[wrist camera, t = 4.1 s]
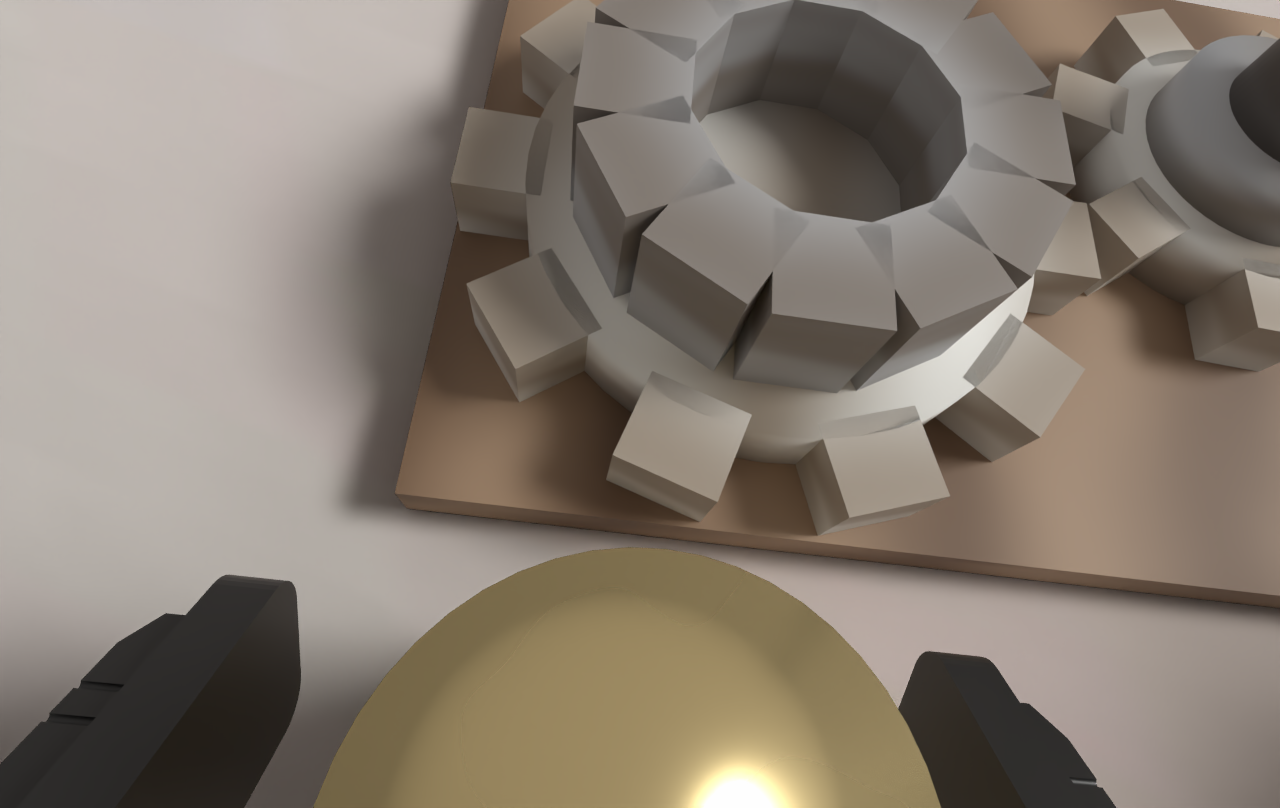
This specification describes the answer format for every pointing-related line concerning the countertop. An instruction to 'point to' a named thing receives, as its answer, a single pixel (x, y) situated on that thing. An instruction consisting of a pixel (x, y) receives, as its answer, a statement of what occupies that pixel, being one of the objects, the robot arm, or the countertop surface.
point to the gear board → (873, 286)
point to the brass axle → (630, 700)
